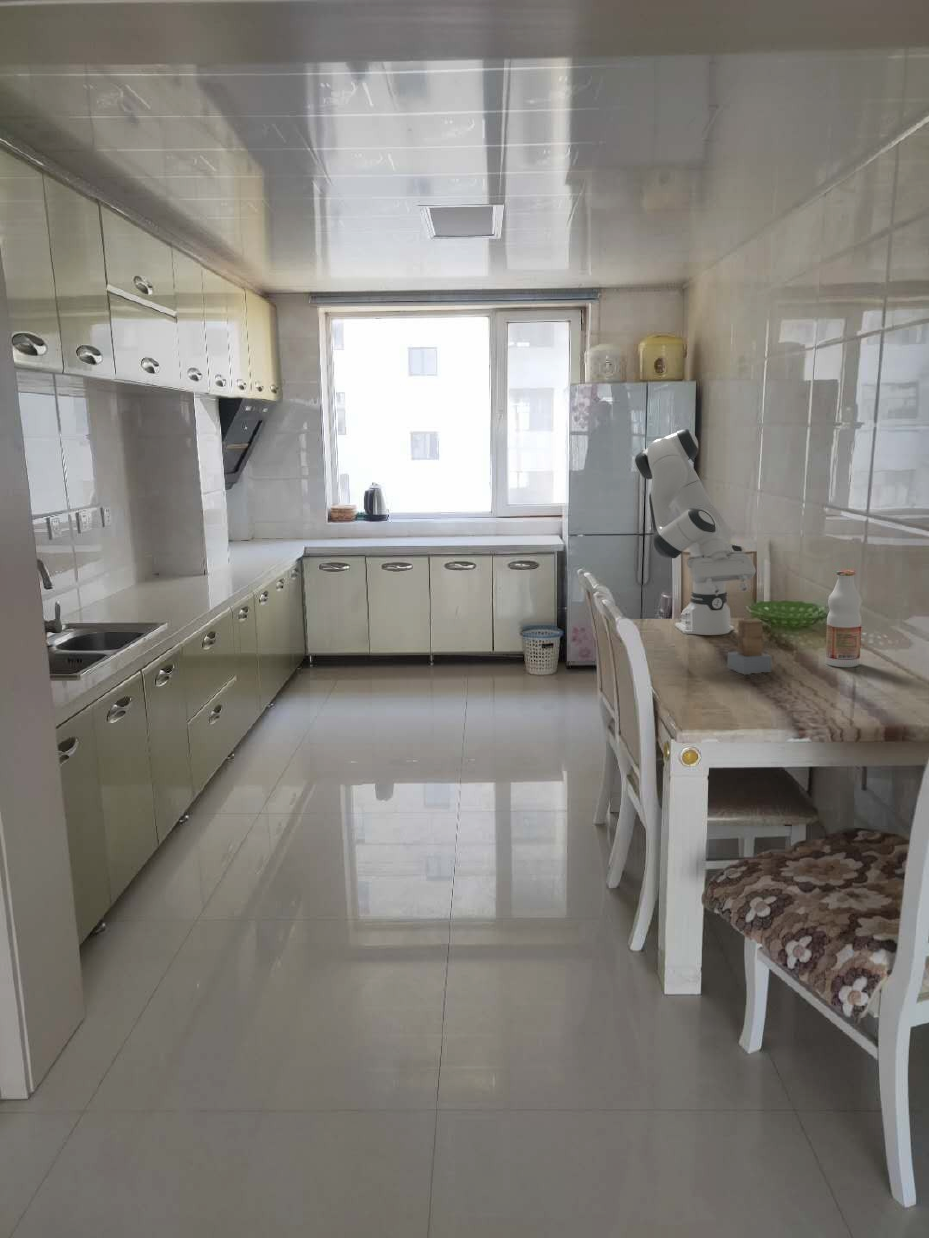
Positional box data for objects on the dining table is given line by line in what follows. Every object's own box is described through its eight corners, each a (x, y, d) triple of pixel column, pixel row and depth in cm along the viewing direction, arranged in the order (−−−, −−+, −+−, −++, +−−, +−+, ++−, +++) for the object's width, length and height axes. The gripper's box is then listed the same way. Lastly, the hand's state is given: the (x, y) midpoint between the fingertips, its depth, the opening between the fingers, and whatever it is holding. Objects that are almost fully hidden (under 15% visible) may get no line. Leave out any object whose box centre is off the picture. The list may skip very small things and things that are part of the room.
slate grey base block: (727, 668, 270) (727, 652, 269) (753, 665, 272) (754, 649, 271) (744, 675, 261) (744, 658, 260) (771, 672, 264) (771, 655, 263)
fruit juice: (818, 663, 270) (821, 570, 265) (841, 658, 274) (844, 567, 269) (843, 669, 262) (847, 574, 257) (866, 665, 266) (870, 571, 261)
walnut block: (737, 653, 268) (738, 620, 266) (753, 651, 269) (753, 618, 267) (746, 656, 263) (746, 623, 261) (762, 655, 264) (762, 621, 262)
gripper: (687, 550, 277) (702, 586, 270) (748, 546, 281) (764, 581, 274) (681, 563, 282) (695, 599, 275) (741, 559, 286) (756, 594, 279)
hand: (730, 590), depth 274 cm, fingers open, 8 cm apart
